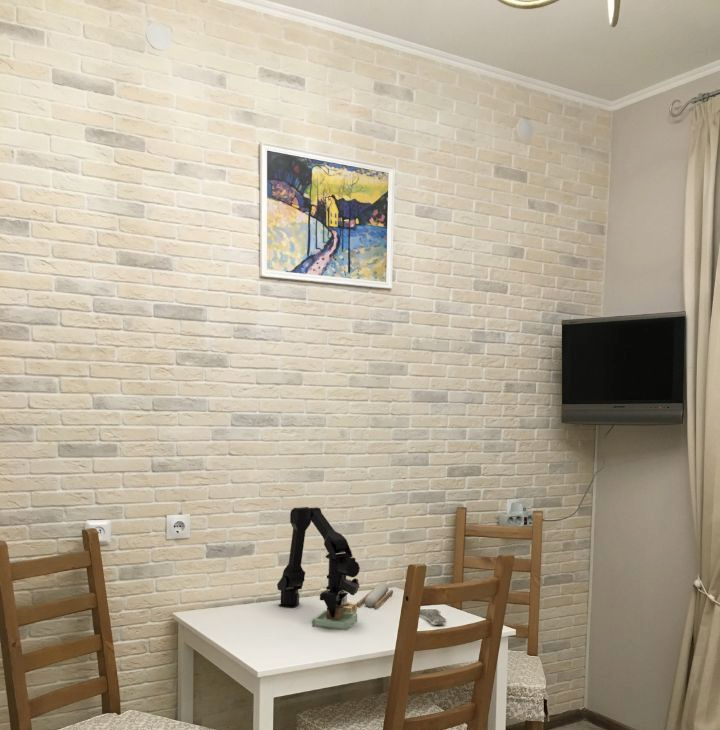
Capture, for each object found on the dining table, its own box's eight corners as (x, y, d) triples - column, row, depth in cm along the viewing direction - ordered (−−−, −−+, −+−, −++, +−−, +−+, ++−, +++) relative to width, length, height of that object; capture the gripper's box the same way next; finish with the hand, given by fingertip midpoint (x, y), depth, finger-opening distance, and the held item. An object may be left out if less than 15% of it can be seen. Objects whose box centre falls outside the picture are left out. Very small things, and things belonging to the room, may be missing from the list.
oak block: (330, 615, 297) (330, 606, 297) (337, 610, 304) (337, 601, 305) (350, 617, 294) (350, 608, 295) (356, 612, 302) (356, 603, 302)
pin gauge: (339, 614, 299) (340, 593, 299) (341, 612, 301) (341, 591, 301) (345, 615, 298) (345, 593, 298) (347, 613, 300) (347, 592, 301)
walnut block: (326, 619, 285) (326, 607, 285) (330, 615, 289) (331, 604, 290) (339, 620, 283) (339, 609, 283) (343, 616, 288) (343, 605, 288)
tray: (312, 626, 282) (312, 619, 282) (324, 617, 294) (324, 610, 294) (346, 630, 278) (346, 623, 278) (357, 620, 291) (357, 613, 291)
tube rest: (356, 607, 309) (356, 602, 310) (374, 592, 334) (374, 588, 334) (376, 609, 307) (376, 604, 307) (392, 594, 332) (393, 590, 332)
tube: (378, 599, 309) (390, 584, 333) (365, 593, 310) (378, 579, 334) (373, 611, 309) (386, 596, 333) (361, 606, 310) (374, 591, 334)
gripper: (349, 579, 276) (348, 624, 275) (364, 569, 294) (363, 611, 293) (319, 576, 279) (318, 620, 278) (336, 566, 297) (335, 608, 296)
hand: (335, 615), depth 286 cm, fingers closed on walnut block, 5 cm apart
